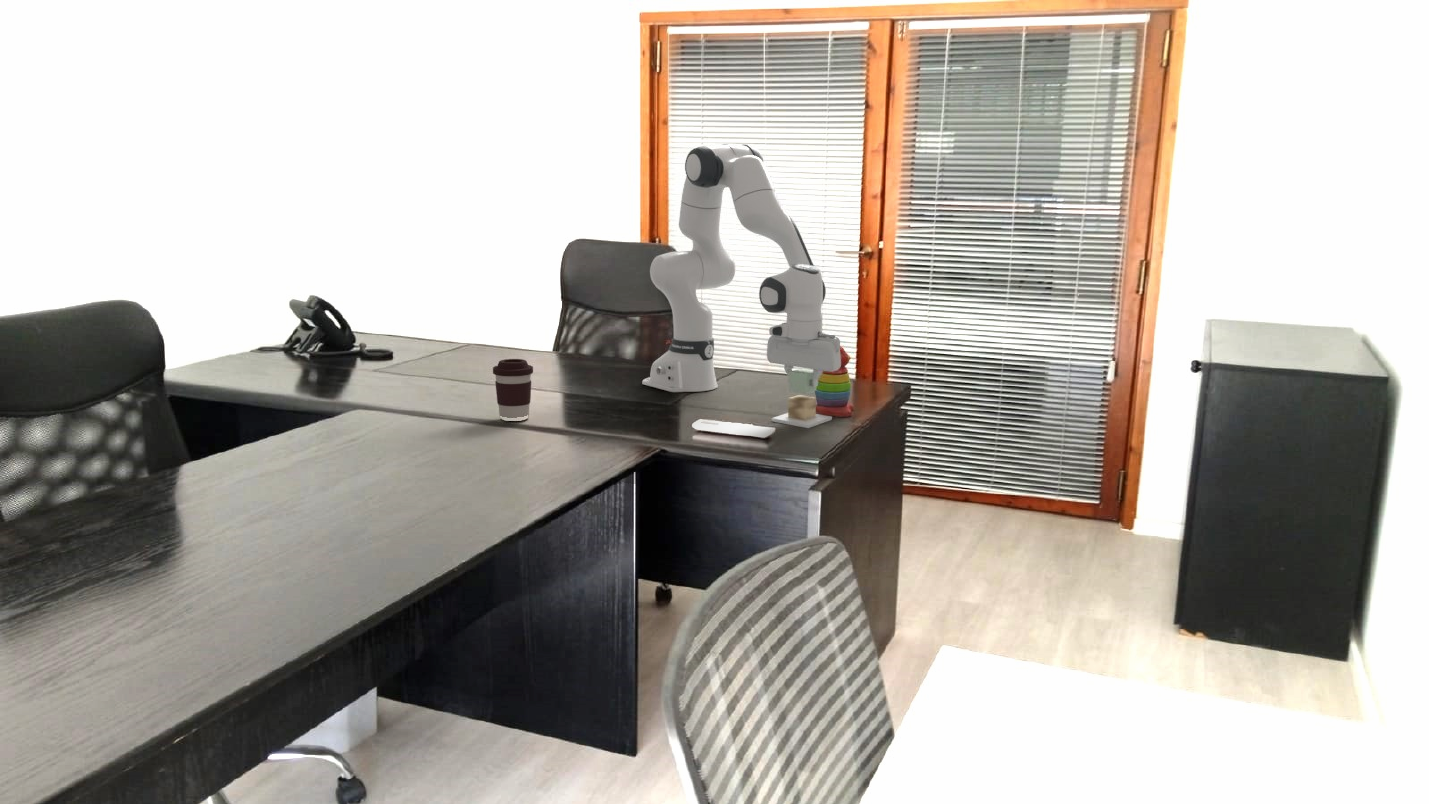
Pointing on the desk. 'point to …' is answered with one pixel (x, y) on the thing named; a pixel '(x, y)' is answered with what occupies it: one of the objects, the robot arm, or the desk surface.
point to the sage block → (801, 381)
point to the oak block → (802, 407)
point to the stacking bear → (835, 390)
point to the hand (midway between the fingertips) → (802, 384)
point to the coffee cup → (513, 387)
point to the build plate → (802, 423)
